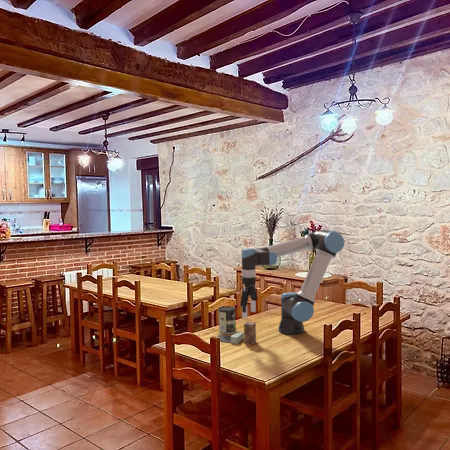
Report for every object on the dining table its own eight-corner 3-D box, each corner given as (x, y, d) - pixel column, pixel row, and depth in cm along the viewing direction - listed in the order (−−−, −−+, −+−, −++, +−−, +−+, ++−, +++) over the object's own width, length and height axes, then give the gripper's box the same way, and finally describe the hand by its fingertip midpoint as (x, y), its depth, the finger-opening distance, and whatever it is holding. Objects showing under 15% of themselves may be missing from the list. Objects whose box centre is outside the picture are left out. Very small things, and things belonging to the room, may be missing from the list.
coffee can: (237, 329, 265) (236, 306, 264) (234, 334, 255) (233, 310, 254) (220, 328, 267) (220, 306, 266) (217, 333, 257) (216, 310, 256)
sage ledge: (243, 338, 248) (243, 332, 248) (237, 343, 239) (237, 337, 238) (237, 337, 249) (237, 331, 249) (230, 342, 240) (230, 336, 240)
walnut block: (255, 341, 241) (255, 322, 240) (252, 344, 237) (252, 324, 236) (247, 340, 243) (247, 321, 242) (244, 343, 239) (243, 324, 238)
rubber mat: (236, 337, 250) (236, 336, 250) (229, 342, 240) (229, 342, 240) (219, 335, 254) (219, 334, 254) (211, 340, 245) (211, 340, 245)
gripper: (250, 272, 250) (250, 308, 252) (233, 280, 228) (234, 320, 229) (262, 273, 247) (262, 309, 249) (247, 281, 225) (247, 321, 226)
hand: (249, 314), depth 239 cm, fingers open, 13 cm apart
